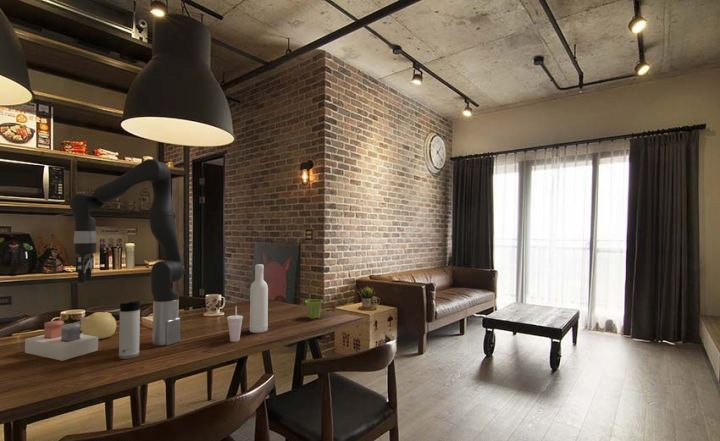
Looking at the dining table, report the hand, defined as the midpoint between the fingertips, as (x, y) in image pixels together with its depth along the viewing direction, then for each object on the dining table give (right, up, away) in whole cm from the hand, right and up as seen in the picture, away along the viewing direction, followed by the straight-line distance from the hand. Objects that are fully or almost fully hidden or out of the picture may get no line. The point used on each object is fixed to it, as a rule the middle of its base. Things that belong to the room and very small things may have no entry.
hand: (84, 281), depth 152 cm
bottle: (+68, -25, +16) cm, 74 cm away
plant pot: (+90, -26, +41) cm, 102 cm away
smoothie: (+62, -25, +1) cm, 67 cm away
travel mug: (+30, -24, -19) cm, 43 cm away
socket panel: (+2, -24, -14) cm, 28 cm away
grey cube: (+7, -19, -16) cm, 26 cm away
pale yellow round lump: (+4, -25, +3) cm, 25 cm away
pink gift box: (-2, -19, -13) cm, 23 cm away
